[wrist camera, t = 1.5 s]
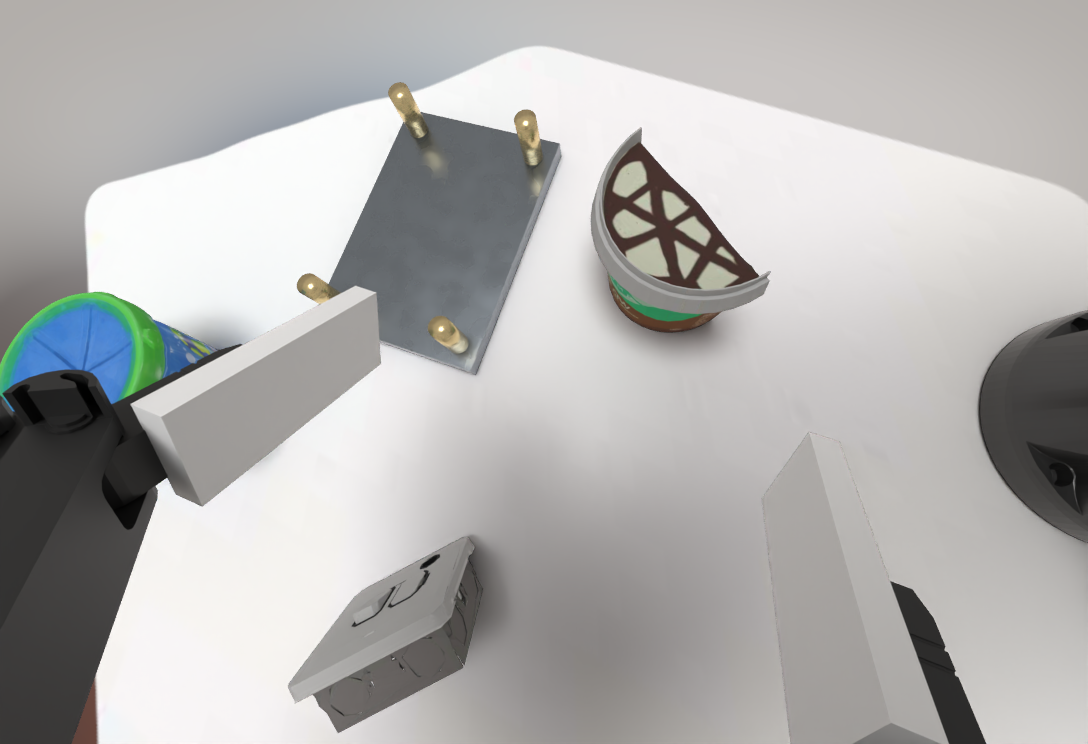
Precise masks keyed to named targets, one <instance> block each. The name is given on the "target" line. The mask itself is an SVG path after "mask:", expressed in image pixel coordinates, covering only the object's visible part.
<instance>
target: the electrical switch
mask: <svg viewBox="0 0 1088 744" xmlns="http://www.w3.org/2000/svg"><path fill="white" fill-rule="evenodd" d="M474 548H475V547H474V545H473V544H472V542H471V541H470V539H469V537H463V538H461V539H459V540H457V541H455V542H453V543H451V544H449V545H447V546H446V547H444V548H442V549H440V550H438V551H436V552H434V553H432V554H430V555H428V556H427V557H425V558H423V559H421V560H419V561H417V562H415V563H413V564H411V565H409V566H408V567H406V568H404V569H402V570H400V571H398V572H396V573H394V574H392V575H390V576H389V577H387V578H385V579H383V580H381V581H379V582H377V583H375V584H373V585H372V586H370V587H368V588H366V589H364V590H363V591H361V592H360V593H359V594H357V595H356V596H355V597H354V598H353V599H352V601H351V602H350V603H349V604H348V606H347V607H346V608H345V610H344V611H343V612H342V614H341V615H340V616H339V618H338V619H337V620H336V622H335V623H334V624H333V626H332V627H331V628H330V629H329V631H328V632H327V633H326V635H325V636H324V637H323V639H322V640H321V641H320V643H319V644H318V645H317V647H316V648H315V649H314V651H313V652H312V653H311V655H310V656H309V657H308V659H307V660H306V661H305V663H304V664H303V665H302V667H301V668H300V669H299V671H298V672H297V673H296V675H295V676H294V677H293V679H292V680H291V681H290V683H289V685H288V689H289V691H290V693H291V695H292V697H293V699H294V701H295V703H297V702H299V701H301V700H303V699H305V698H307V697H309V696H310V695H313V696H314V697H315V698H316V700H317V702H318V705H319V707H320V708H322V709H323V710H324V711H325V712H326V713H327V714H328V716H329V718H330V720H331V721H332V723H333V725H334V727H335V729H336V730H337V732H338V733H339V732H341V731H343V730H345V729H347V728H349V727H351V726H353V725H355V724H357V723H358V722H360V721H362V720H364V719H366V718H368V717H370V716H372V715H374V714H376V713H378V712H379V711H381V710H383V709H385V708H387V707H389V706H391V705H393V704H395V703H397V702H399V701H401V700H402V699H404V698H406V697H408V696H410V695H412V694H414V693H416V692H418V691H420V690H422V689H423V688H425V687H427V686H429V685H431V684H433V683H435V682H437V681H439V680H441V679H443V678H445V677H446V676H448V675H450V674H452V673H454V672H456V671H458V670H460V669H462V668H463V665H462V663H463V664H464V665H465V661H466V657H467V652H468V648H469V644H470V640H471V636H472V632H473V627H474V623H475V619H476V615H477V611H478V607H479V603H480V598H481V594H482V590H483V589H482V587H481V585H480V583H479V581H478V580H477V578H476V576H475V575H476V574H475V572H474V570H473V567H472V565H471V564H470V562H469V560H468V558H469V555H471V554H472V553H473V550H474ZM463 600H464V604H463V602H462V601H463ZM454 650H455V651H454ZM456 653H457V654H456ZM403 655H404V656H403ZM457 655H458V656H459V658H460V660H461V661H462V663H461V661H460V660H459V658H458V656H457ZM394 657H395V659H394V660H393V661H392V659H391V658H394ZM403 668H404V670H405V671H404V670H403ZM440 670H441V671H440ZM371 681H373V684H374V686H373V684H372V683H371ZM370 694H371V695H370ZM361 712H362V713H361Z"/></svg>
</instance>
